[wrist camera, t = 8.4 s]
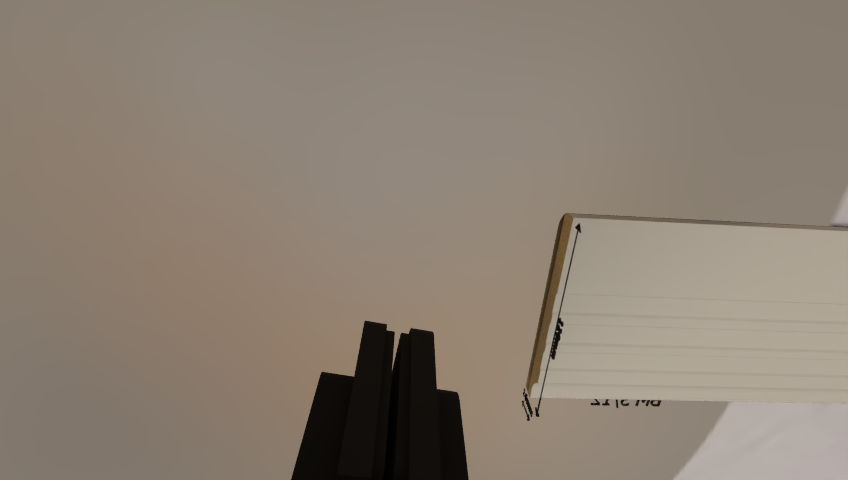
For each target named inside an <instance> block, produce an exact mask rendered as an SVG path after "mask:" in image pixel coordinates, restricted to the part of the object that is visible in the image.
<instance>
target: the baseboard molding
mask: <svg viewBox="0 0 848 480" xmlns="http://www.w3.org/2000/svg"><path fill="white" fill-rule="evenodd" d="M526 389H527V391H528V394H529V397H530V398H540V400H539V404H538V409H537V408H535V410H536V416H537V417H539V414H538V410H539V405H540V401H541V398H582V399H583V398H584V399H595V401H596V402H597V403H591V405H600V402H598V401H597V399H606V401H605V403H603V404H602V405H603V406H607V405H608V406H609V405H610V404H609V403H608V400H609V399H616V408H618V399H622V400H621V402H620V403H621V405H622V406H629V403H626V404H623V402H624V401H625V400H628V399H634V400H637V401H636V404H635V405H636V406H638V404H639V401H640V400H641V401H642V403H644V402H645V401H646V400H647V402H646V406H648V405H649V402H650V404H651V405H652V406H658V407H659V406H660V403H661V400H685V401H737V402H789V403H841V404H848V227H829V226H809V225H789V224H770V223H750V222H730V221H710V220H691V219H671V218H650V217H631V216H611V215H591V214H572V213H571V214H570V213H566V214H564V215H563V216H562V218H561V220H560V222H559V225H558V229H557V234H556V239H555V244H554V249H553V254H552V259H551V264H550V269H549V274H548V278H547V283H546V288H545V293H544V298H543V303H542V308H541V314H540V318H539V323H538V328H537V333H536V338H535V343H534V347H533V353H532V357H531V362H530V367H529V372H528V377H527V382H526ZM524 394H525V395H524ZM523 396H524V397H525V401H526V404H527V407H528V409H529V412H530V414H531V417H532V414H533V412H532V409H531V406H530V403H529V400H528V398H527V394H526V393H525V389H524V392H523ZM650 400H651V401H650ZM654 401H658V403H657V404H653V402H654ZM523 406H524V408H525V405H524V401H522V407H523ZM525 411H526V408H525ZM526 414H527V411H526ZM527 417H528V418H527V420H528V421H529V420H530V419H529V415H528V414H527Z"/></svg>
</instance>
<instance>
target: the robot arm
mask: <svg viewBox="0 0 848 480" xmlns="http://www.w3.org/2000/svg"><path fill="white" fill-rule="evenodd" d="M386 328H387V324H381V323H375V322H370V321H365V323H364V328H363V333H362V338H361V343H360V349H359V355H358V360H357V366H356V370H355V376H354V377H352V376H346V375H339V374H332V373H326V372H322V373H321V375H320V378H319V382H318V385H317V389H316V393H315V396H314V400H313V403H312V407H311V410H310V414H309V418H308V421H307V425H306V428H305V432H304V436H303V439H302V443H301V446H300V450H299V453H298V457H297V461H296V464H295V468H294V471H293V475H292V479H291V480H468V471H467V462H466V453H465V444H464V435H463V427H462V418H461V409H460V400H459V395H458V393H457V392H453V391H446V390H440V389H437V387H436V367H435V348H434V333H433V332H431V331H425V330H419V329H412V328H411V329H410V332H409V334H405V333H401V335H400V339H399V344H398V348H397V352H396V357H395V361H394V365H393V370H392V361H393V348H394V335H395V332H393V331H387V330H386Z"/></svg>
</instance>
